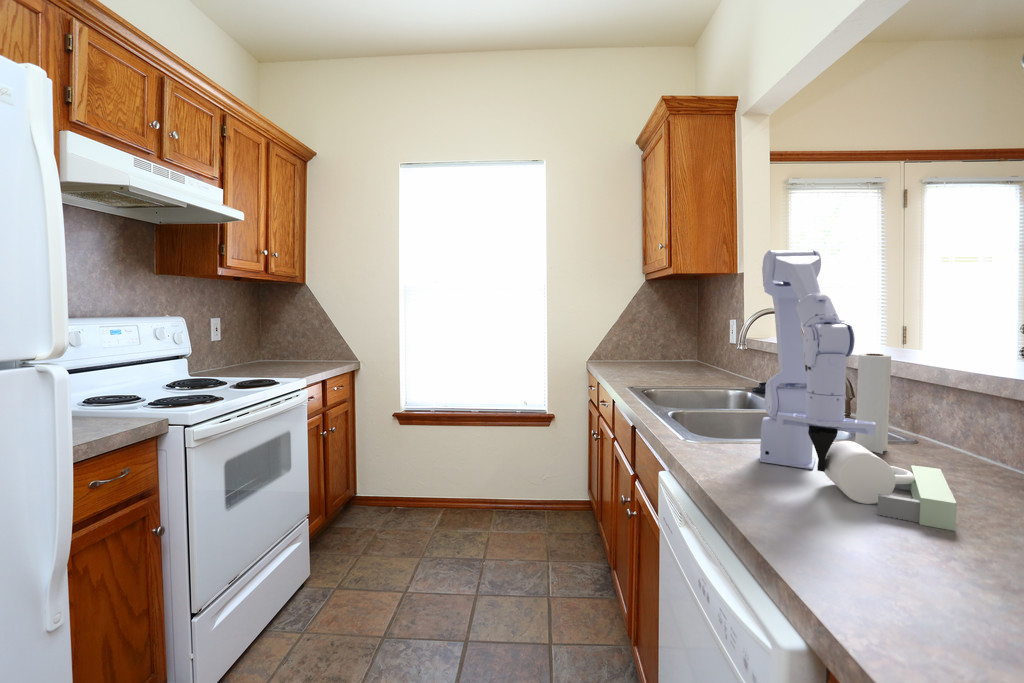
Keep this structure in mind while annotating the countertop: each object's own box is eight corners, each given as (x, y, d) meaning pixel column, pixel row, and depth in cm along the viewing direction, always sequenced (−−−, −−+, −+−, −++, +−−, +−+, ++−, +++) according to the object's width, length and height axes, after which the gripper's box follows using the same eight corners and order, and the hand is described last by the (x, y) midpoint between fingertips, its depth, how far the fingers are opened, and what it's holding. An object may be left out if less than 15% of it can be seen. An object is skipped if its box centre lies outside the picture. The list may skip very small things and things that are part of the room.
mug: (838, 501, 84) (840, 453, 84) (819, 482, 94) (821, 438, 93) (924, 510, 81) (927, 460, 81) (896, 488, 91) (898, 444, 90)
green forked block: (877, 516, 78) (878, 491, 78) (875, 482, 94) (876, 460, 94) (955, 530, 73) (956, 503, 73) (939, 491, 89) (940, 468, 89)
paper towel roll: (859, 443, 121) (862, 352, 119) (890, 448, 116) (894, 354, 115) (850, 449, 116) (853, 354, 115) (882, 455, 111) (886, 356, 110)
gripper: (775, 392, 90) (772, 468, 91) (876, 400, 82) (872, 484, 83) (781, 386, 96) (778, 458, 97) (876, 394, 88) (872, 472, 89)
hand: (822, 469), depth 90 cm, fingers closed, pressing on mug
